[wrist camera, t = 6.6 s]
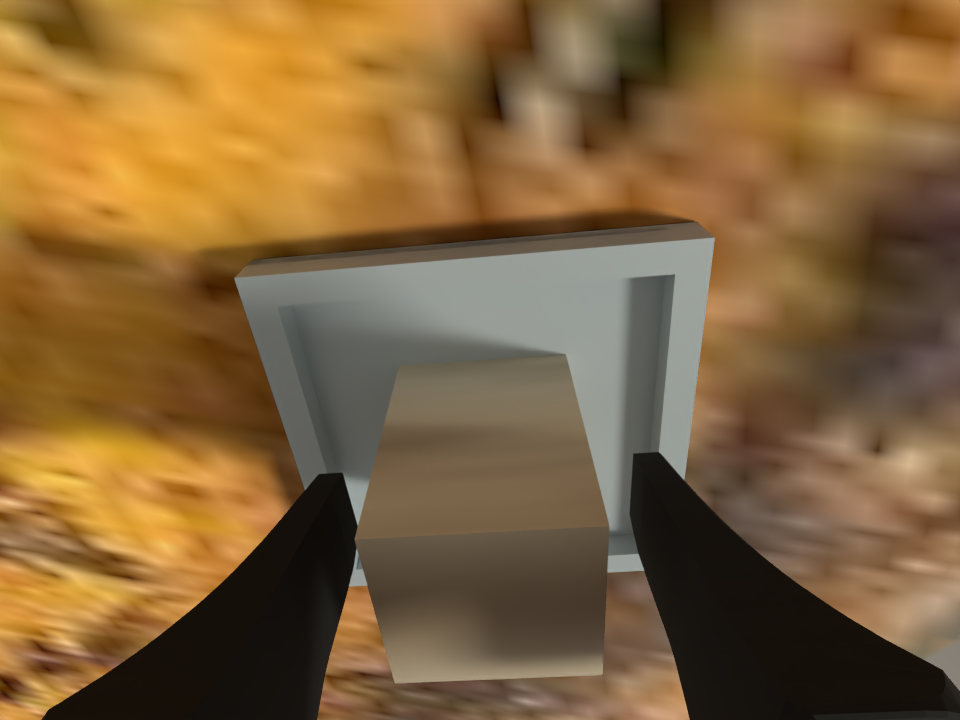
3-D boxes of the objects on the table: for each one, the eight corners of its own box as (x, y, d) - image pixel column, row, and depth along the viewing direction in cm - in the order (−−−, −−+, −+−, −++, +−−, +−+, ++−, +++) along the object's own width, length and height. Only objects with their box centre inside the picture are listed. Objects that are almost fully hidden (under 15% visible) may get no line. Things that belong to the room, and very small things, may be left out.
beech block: (566, 481, 17) (602, 675, 12) (421, 489, 17) (394, 683, 12) (566, 354, 15) (609, 526, 10) (399, 365, 15) (354, 539, 10)
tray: (662, 539, 19) (673, 568, 18) (345, 557, 20) (337, 587, 19) (697, 221, 13) (714, 237, 12) (252, 260, 14) (233, 277, 13)
